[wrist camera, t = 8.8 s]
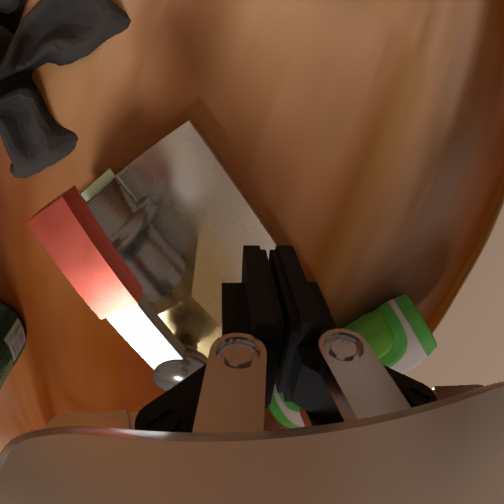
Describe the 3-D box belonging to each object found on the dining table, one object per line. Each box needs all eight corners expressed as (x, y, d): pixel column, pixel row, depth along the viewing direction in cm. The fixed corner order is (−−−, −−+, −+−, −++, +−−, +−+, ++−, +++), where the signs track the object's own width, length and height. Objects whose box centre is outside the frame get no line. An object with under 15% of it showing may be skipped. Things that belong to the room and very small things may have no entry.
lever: (219, 354, 21) (220, 388, 19) (176, 367, 22) (173, 400, 19) (94, 169, 14) (70, 191, 12) (47, 201, 15) (21, 226, 12)
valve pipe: (326, 316, 31) (346, 372, 25) (197, 376, 34) (195, 430, 28) (184, 110, 20) (167, 125, 14) (43, 230, 23) (2, 278, 17)
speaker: (293, 388, 37) (303, 439, 31) (256, 364, 34) (264, 422, 28) (415, 313, 33) (445, 361, 26) (394, 276, 29) (430, 327, 23)
